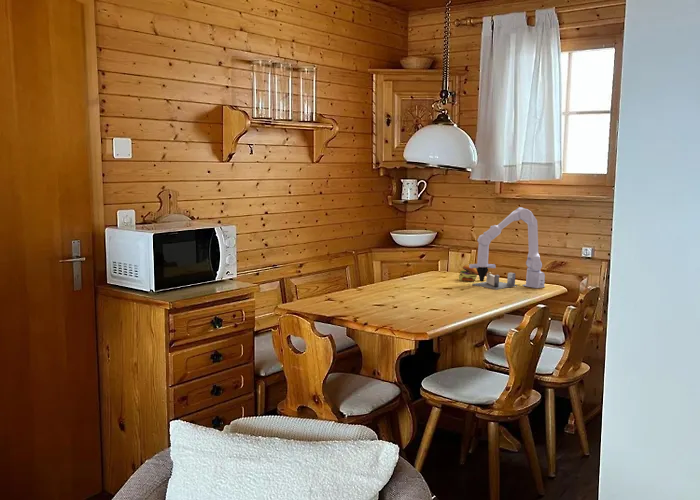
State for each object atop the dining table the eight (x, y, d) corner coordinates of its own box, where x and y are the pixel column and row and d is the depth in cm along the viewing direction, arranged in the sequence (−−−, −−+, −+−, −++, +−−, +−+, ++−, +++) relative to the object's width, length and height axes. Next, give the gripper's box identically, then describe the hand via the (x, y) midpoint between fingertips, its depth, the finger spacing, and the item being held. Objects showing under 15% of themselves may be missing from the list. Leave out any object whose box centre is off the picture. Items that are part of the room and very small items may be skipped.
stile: (517, 285, 382) (518, 273, 381) (510, 286, 378) (511, 274, 377) (510, 283, 386) (510, 272, 385) (503, 285, 382) (504, 273, 381)
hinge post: (499, 287, 375) (500, 275, 374) (496, 287, 373) (497, 275, 372) (495, 286, 377) (496, 274, 376) (493, 286, 375) (493, 275, 374)
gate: (496, 285, 377) (497, 274, 376) (493, 285, 376) (494, 274, 375) (489, 282, 386) (490, 271, 386) (486, 282, 386) (486, 271, 385)
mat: (517, 286, 383) (517, 285, 383) (496, 289, 370) (496, 288, 370) (493, 281, 395) (493, 280, 395) (472, 285, 382) (472, 283, 382)
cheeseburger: (453, 279, 399) (458, 262, 398) (468, 282, 403) (472, 265, 403) (463, 281, 390) (468, 264, 389) (479, 285, 394) (483, 268, 394)
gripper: (492, 255, 386) (491, 279, 387) (467, 255, 383) (466, 279, 384) (497, 257, 379) (496, 282, 381) (472, 257, 376) (471, 282, 378)
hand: (481, 281), depth 382 cm, fingers closed
